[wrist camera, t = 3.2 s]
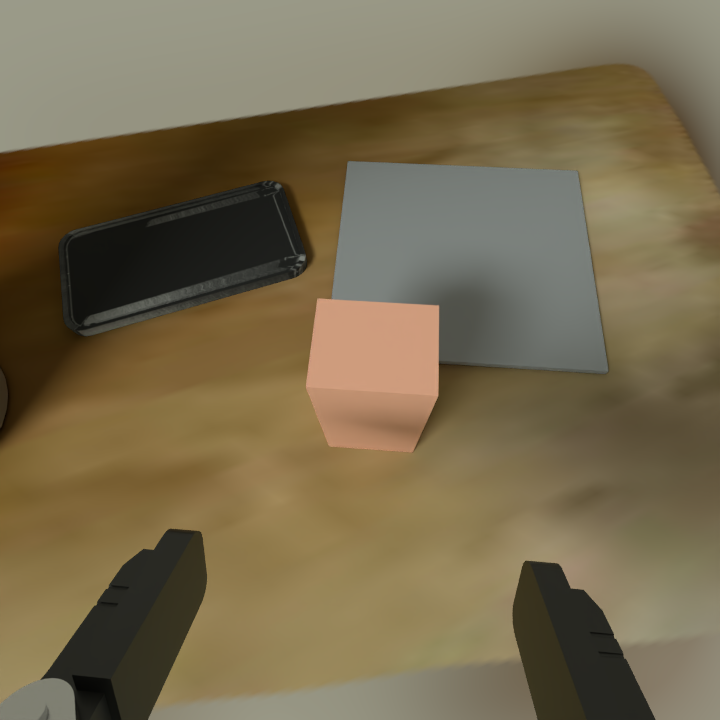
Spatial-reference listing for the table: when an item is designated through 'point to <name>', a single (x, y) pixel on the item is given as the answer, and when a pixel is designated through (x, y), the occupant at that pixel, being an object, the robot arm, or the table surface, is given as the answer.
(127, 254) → the phone
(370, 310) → the block
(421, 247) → the mat
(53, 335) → the table surface
